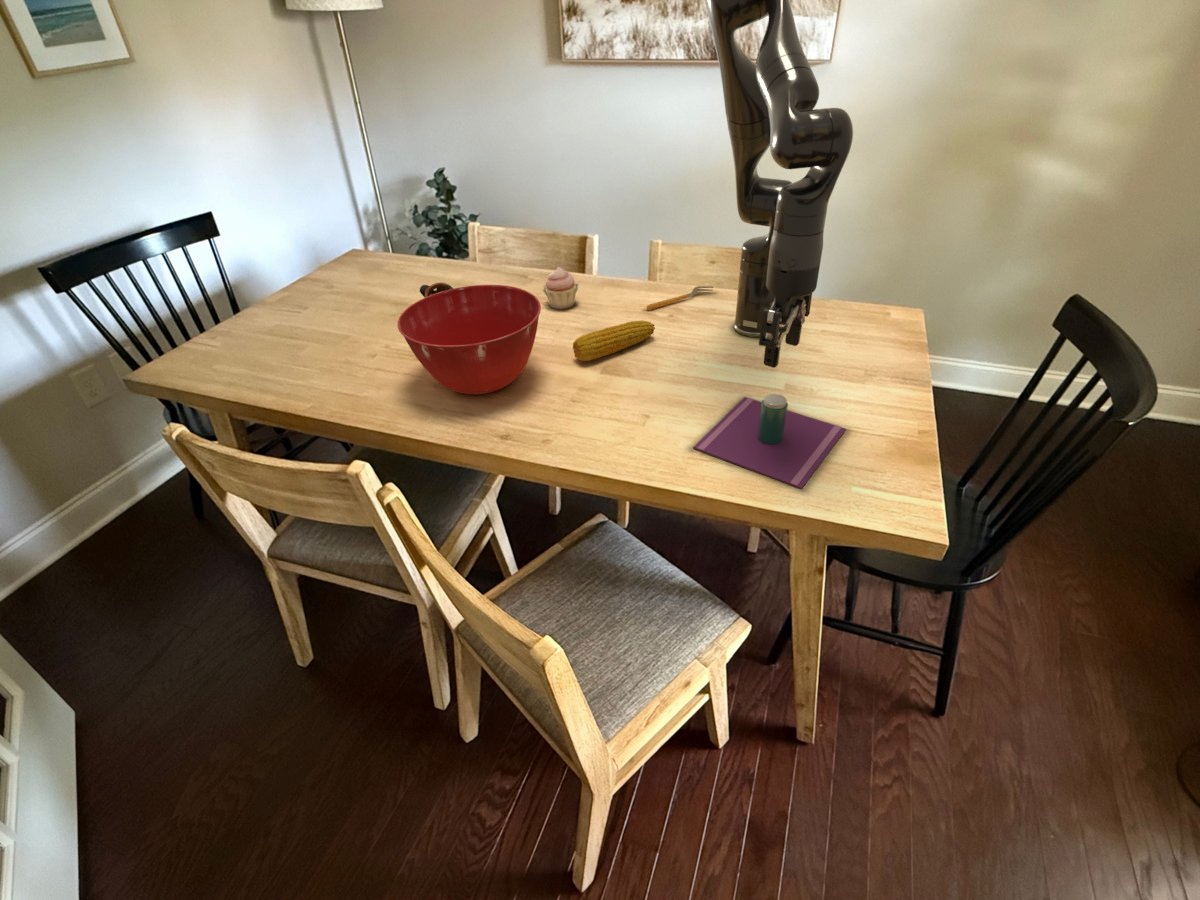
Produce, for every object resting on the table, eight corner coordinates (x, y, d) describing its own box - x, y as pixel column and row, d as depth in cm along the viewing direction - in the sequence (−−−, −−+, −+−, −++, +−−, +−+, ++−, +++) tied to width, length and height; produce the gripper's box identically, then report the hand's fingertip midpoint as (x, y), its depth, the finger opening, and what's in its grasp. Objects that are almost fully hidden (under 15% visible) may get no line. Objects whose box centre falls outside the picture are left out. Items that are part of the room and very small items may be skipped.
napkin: (744, 398, 126) (744, 396, 125) (845, 430, 115) (846, 428, 115) (693, 448, 113) (693, 446, 113) (801, 489, 103) (801, 487, 103)
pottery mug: (470, 305, 169) (463, 286, 161) (451, 332, 166) (443, 314, 158) (432, 288, 171) (424, 268, 164) (412, 315, 168) (403, 296, 160)
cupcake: (562, 294, 171) (559, 257, 165) (587, 303, 166) (584, 265, 160) (536, 305, 166) (532, 268, 160) (560, 315, 160) (557, 276, 155)
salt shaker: (763, 427, 116) (768, 390, 112) (786, 435, 114) (792, 397, 110) (752, 439, 114) (757, 401, 109) (776, 447, 112) (781, 409, 107)
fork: (649, 306, 159) (714, 286, 166) (645, 302, 160) (709, 282, 167) (648, 314, 161) (712, 294, 168) (644, 310, 162) (708, 290, 169)
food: (584, 369, 138) (583, 344, 134) (570, 359, 142) (568, 334, 138) (659, 339, 147) (659, 315, 144) (644, 331, 151) (644, 308, 148)
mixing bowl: (428, 429, 121) (411, 357, 112) (403, 365, 143) (386, 300, 133) (567, 393, 130) (561, 323, 121) (523, 337, 151) (515, 274, 142)
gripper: (789, 240, 102) (777, 332, 112) (750, 269, 93) (741, 367, 103) (836, 248, 98) (819, 342, 108) (799, 279, 89) (785, 379, 99)
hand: (781, 354), depth 105 cm, fingers open, 8 cm apart
